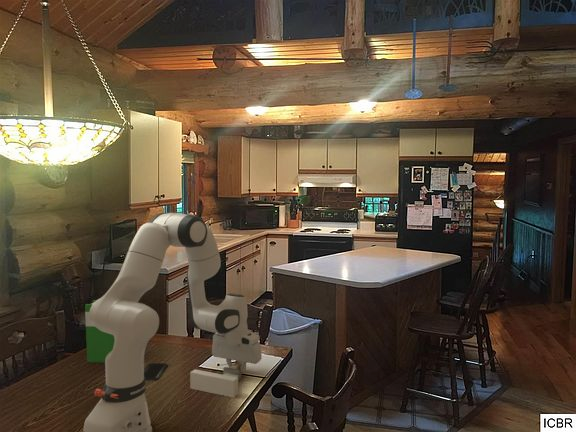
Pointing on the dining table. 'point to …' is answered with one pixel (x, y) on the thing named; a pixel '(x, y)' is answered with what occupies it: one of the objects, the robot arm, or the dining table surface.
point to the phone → (154, 371)
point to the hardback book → (97, 340)
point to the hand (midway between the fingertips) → (236, 370)
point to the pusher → (234, 369)
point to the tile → (231, 375)
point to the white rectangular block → (214, 383)
